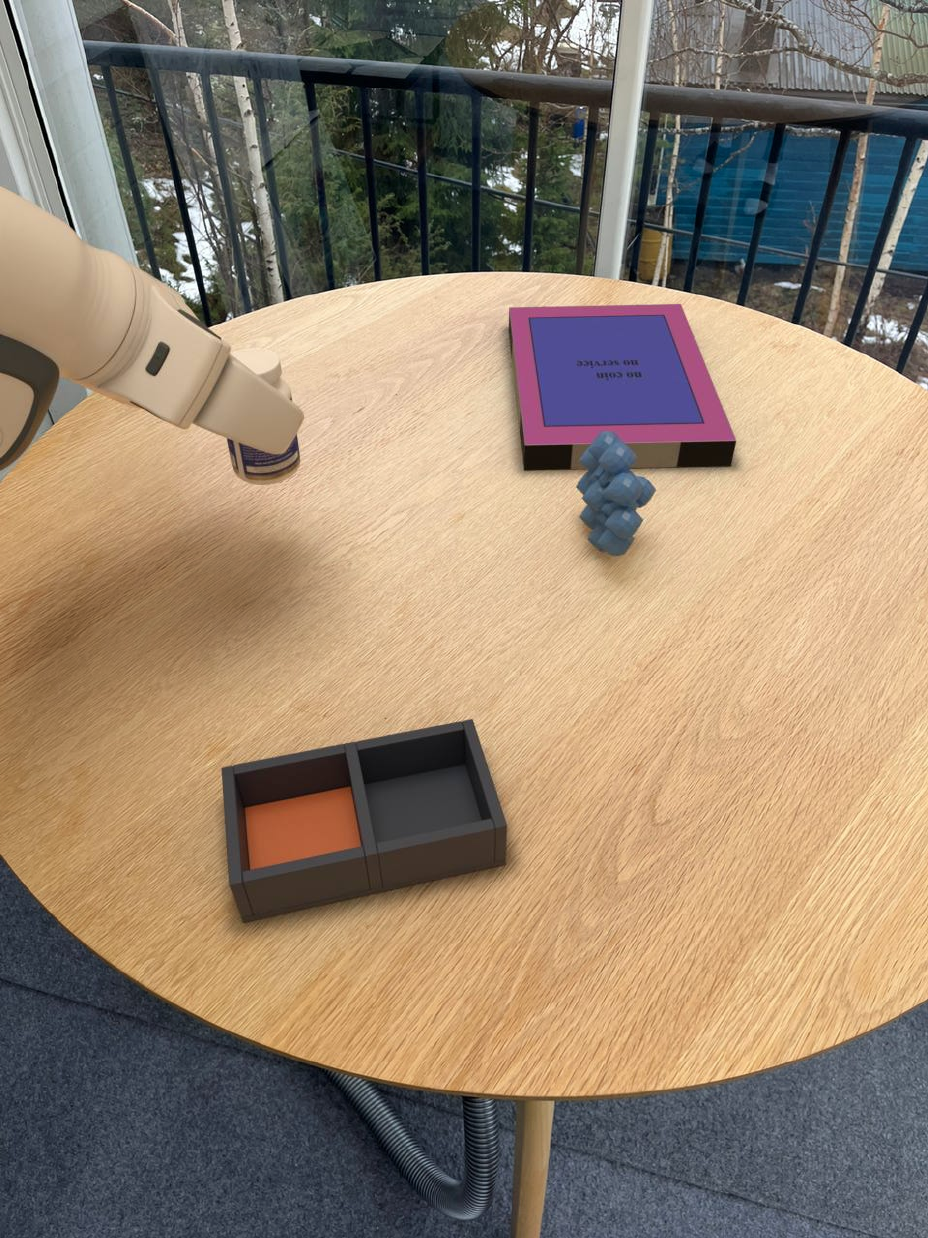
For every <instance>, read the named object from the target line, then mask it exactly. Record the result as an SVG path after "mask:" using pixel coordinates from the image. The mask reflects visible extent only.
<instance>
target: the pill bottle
mask: <svg viewBox="0 0 928 1238" xmlns="http://www.w3.org/2000/svg"><path fill="white" fill-rule="evenodd" d="M230 354H231V355H232V356H233V357H235V358H236V359H237V360H239V361H240V362H241V363H242V364H244V365H245V366H246V367H248V368H249V369H250V370H252V371H253V372H254V373H256V374H257V375H258V376H260V377H261V378H262V379H264V380H265V381H266V382H268V383H269V384H270V385H272V386H273V387H274V388H276V389H277V390H278V391H280V392H281V393H282V394H284V395H285V396H286V397H287V398H289V399H290V400H291V401H292V402H293V396H292V391H291V387H290V386H289V384H288V383H287V381H286V380H285V379H284V378H282V377H281V376H282V374H283V370H282V369H283V368H282V364H281V359H280V356H279V355H278V354H277V353H276V352H274V351H273V350H270V349H268V348H267V349H266V348H261V347H249V348H243V349H241V348H240V349H238V350H235V351H231V352H230ZM226 442H227V448H228V453H229V457H230V463H231V466H232V471H233V473H234V474H235V476H236V477H237V478H239V479H240V480H241V481H243V482H245V483H247V484H251V485H258V486H269V485H275V484H279V483H282V482H284V481H286V480H288V479H290V478H291V477H293V475H295V474H296V473H297V471H298V470H299V469H300V466H301V453H300V445H299V439H298V433H297V434H296V436H295V438H294V439H293V441H292V443H291V444H290V446H289V447H288V449H287V450H286V451H285V452H284V453H282V454H271V453H267V452H264V451H261V450H258V449H255V448H253V447H250V446H247V445H244V444H241V443H239V442H236V441H233V440H231V439H228V438H226Z"/></svg>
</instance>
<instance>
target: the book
mask: <svg viewBox="0 0 928 1238" xmlns="http://www.w3.org/2000/svg"><path fill="white" fill-rule="evenodd" d="M508 337H509V347H510V356H511V365H512V373H513V374H512V375H513V383H514V393H515V401H516V409H517V410H516V411H517V420H518V428H519V429H518V430H519V438H520V448H521V457H522V467H523V471H557V470H559V471H562V470H567V471H568V470H587V469H586V468H585V467H584V466H583V464H582V463H581V462H580V461H579V460H580V458H581V456H582V455H583V453H584V452H585V451H586V449H587V448H588V447H589V446H590V445H591V443H592V442H593V441H594V439H595V438H596V437H597V435H598V434H600V433H602V432H603V431H610V432H613V433H615V434H616V435H617V436H619V438H620V439H621V440H622V441H623V443H624V444H625V445H627V446H628V447H630V449H631V450H632V451H633V452H634V453H635V455H636V456H637V459H636V461H635V463H634V464H633V466H632V467H631V468H630V469H653V468H655V469H657V468H658V469H660V468H700V467H702V468H703V467H704V468H705V467H706V468H707V467H732V463H733V459H734V453H735V449H736V446H737V445H736V444H737V438H736V436H735V433H734V431H733V428H732V426H731V423H730V421H729V419H728V416H727V414H726V412H725V408H724V406H723V404H722V402H721V399H720V397H719V395H718V392H717V389H716V387H715V384H714V382H713V379H712V377H711V374H710V373H709V369H708V366H707V365H706V362H705V360H704V356H703V355H702V352H701V350H700V347H699V345H698V343H697V340H696V337H695V335H694V332H693V330H692V328H691V325H690V323H689V320H688V318H687V315H686V313H685V311H684V307H683V305H682V303H659V304H658V303H657V304H653V303H651V304H611V305H610V304H609V305H608V304H607V305H605V304H603V305H563V306H562V305H561V306H560V305H559V306H516V307H515V306H513V307H511V306H510V307H508Z"/></svg>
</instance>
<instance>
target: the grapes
mask: <svg viewBox="0 0 928 1238" xmlns="http://www.w3.org/2000/svg"><path fill="white" fill-rule="evenodd" d="M636 459H637V456H636V455H635V453H634V452H633V451H632V450H631V449H630V447H628V446H627V445H625V444H624V443H623V441H622V440H621V439H620V438H619V436H617V435H616V434H615V433H613V432H610V431H603V432H602V433H600V434H598V435H597V437H596V438H595V439H594V441H593V442H592V443H591V445H590V446H589V447H588V448H587V449H586V451H585V452H584V453H583V455H582V456H581V458H580V460H579V461H580V462H581V463H582V464H583V466H584V467H585V468H586V469H585V470H587V471H585V472H584V474H583V475H582V477H581V478H580V479H579V481H578V482H577V484H576V486H575V488H576V489H577V490H578V491H579V492H580V493H581V494H582V497H581V499H582V501H583V502H584V503H585V504H586V506H585V507H584V508H583V509H582V512H581V513H580V514H579V517H578V518H579V520H581V521H582V522H583V523H584V525H585V526H586V527H588V528H589V529H590V530H591V531H590V533H589V535H588V536H587V541H588V542H589V544H591V545H592V546H593V547H594V549H596V550H597V551H598V552H601V553H605V554H608V555H609V556H611V557H617V558H618V557H621V556H623V555H625V554H626V552H627V551H628V550H630V548H631V546H632V544H633V542H634V541H635V539H636V538H635V537H634V535H635V534H637V531H639V528H640V527H641V525H642V524H643V522H644V519H643V517H641V515H640V514H639V513H638V512H637V509H638V508H639V509H641V508H643V507H645V506H647V505H648V503H649V502H650V501H651V499H652V498H653V496H654V495H655V493H656V491H657V489H656V487H655V486H654V485H653V484H652V483H651V481H650V480H649V479H647V478H646V477H644V476H640V475H636V474H635V472H633V471H632V470H631V469H632V468H631V467H632V466H633V464H634V463H635V461H636Z"/></svg>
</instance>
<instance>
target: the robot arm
mask: <svg viewBox="0 0 928 1238" xmlns="http://www.w3.org/2000/svg"><path fill="white" fill-rule="evenodd" d="M231 352H232V347H231V345H230V344H229V343H228V342H226V341H224V340H223V339H222V337H221V336H219V335H218V334H217V333H215V332H214V331H213V330H211V329H210V328H209V327H208V326H206V324H205V323H203V322H202V321H201V320H200V319H199V318H198V316H197V315H196V314H195V313H194V311H193V310H192V308H190V307H189V306H188V305H187V303H186V301H185V300H184V298H183V297H182V295H181V294H180V293H179V292H178V291H177V290H176V289H174V288H173V287H171V286H169V285H168V284H166V283H164V282H163V281H161V280H160V279H158V278H156V277H155V276H153V275H151V274H150V273H148V272H147V271H145V270H144V269H142V268H140V267H138V266H137V265H135V264H134V263H132V262H130V261H128V260H127V259H125V258H123V257H122V256H120V255H118V254H117V253H115V252H112V251H109V250H106V249H102V248H98V247H95V246H92V245H90V244H89V243H87V242H86V241H85V240H83V239H82V238H81V237H80V235H78V234H77V232H76V231H75V230H74V229H73V228H72V227H71V226H69V224H67V223H66V222H65V221H64V220H62V219H60V218H59V217H57V216H56V215H54V214H52V213H50V211H49V212H48V211H47V210H45V209H44V208H42V207H40V206H39V205H37V204H35V203H33V202H32V201H30V200H28V199H26V198H24V197H23V196H21V195H18V194H16V193H15V192H13V191H11V190H10V189H7V188H5V187H4V186H1V185H0V472H2V471H4V470H5V469H6V468H8V467H10V466H11V465H13V464H14V463H15V462H16V461H17V460H18V459H19V458H21V456H22V455H23V454H24V453H25V452H26V451H27V450H28V448H29V447H30V445H31V444H32V442H33V441H34V439H35V436H36V435H37V433H38V431H39V429H40V427H41V425H42V424H43V422H44V420H45V418H46V416H47V413H48V411H49V410H50V407H51V405H52V403H53V401H54V397H55V395H56V392H57V389H58V386H59V383H60V378H63V379H66V380H68V381H71V382H73V383H74V384H77V385H79V386H81V387H84V388H86V389H87V390H90V391H92V392H95V393H97V394H99V395H101V396H104V397H106V398H108V399H110V400H112V401H115V402H117V403H119V404H121V405H126V406H129V407H133V408H135V409H140V410H144V411H146V412H147V413H149V414H150V415H153V416H154V417H155V418H157V419H160V420H161V421H163V422H166V423H168V424H170V425H172V426H174V427H177V428H178V429H181V430H188V429H189V428H190V427H191V425H192V424H193V425H195V426H197V427H199V428H201V429H203V430H206V431H208V432H210V433H212V434H214V435H217V436H220V437H222V438H225V439H227V438H228V439H231V440H233V441H236V442H239V443H241V444H244V445H247V446H250V447H253V448H255V449H258V450H261V451H264V452H267V453H271V454H282V453H284V452H285V451H286V450H287V449H288V447H289V446H290V444H291V443H292V441H293V439H294V438H295V436H296V434H297V435H298V432H299V430H300V429H301V426H302V425H303V422H304V419H305V413H304V411H303V410H302V409H301V407H299V406H298V405H297V404H296V403H295V402H294V401H293V400H292V401H291V400H290V399H289V398H287V397H286V396H285V395H284V394H282V393H281V392H280V391H278V390H277V389H276V388H274V387H273V386H272V385H270V384H269V383H268V382H266V381H265V380H264V379H262V378H261V377H260V376H258V375H257V374H256V373H254V372H253V371H252V370H250V369H249V368H248V367H246V366H245V365H244V364H242V363H241V362H240V361H239V360H237V359H236V358H235V357H233V356H232V355H231V354H230V353H231Z"/></svg>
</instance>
